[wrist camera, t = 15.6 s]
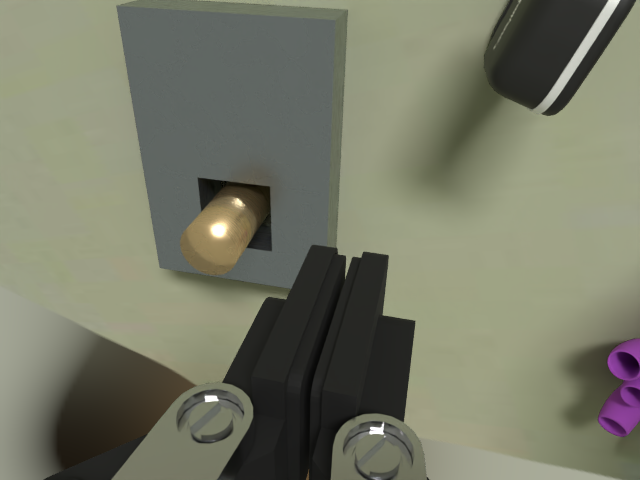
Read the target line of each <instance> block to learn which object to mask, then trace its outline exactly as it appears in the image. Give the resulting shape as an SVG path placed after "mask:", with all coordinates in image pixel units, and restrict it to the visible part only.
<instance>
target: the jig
mask: <svg viewBox="0 0 640 480" xmlns="http://www.w3.org/2000/svg"><path fill="white" fill-rule="evenodd" d="M117 12H118V18H119V24H120V30H121V36H122V43H123V49H124V55H125V61H126V67H127V73H128V79H129V85H130V91H131V97H132V103H133V109H134V115H135V121H136V127H137V133H138V139H139V145H140V151H141V157H142V163H143V169H144V175H145V181H146V187H147V193H148V199H149V205H150V212H151V218H152V224H153V230H154V236H155V242H156V248H157V254H158V260H159V266H160V268H163V269H170V270H176V271H182V272H189V273H195V274H201V275H207V276H214V277H220V278H226V279H233V280H239V281H245V282H252V283H258V284H264V285H270V286H277V287H283V288H289V289H291V288H292V286H293V284H294V282H295V280H296V277H297V275H298V273H299V271H300V269H301V267H302V264H303V262H304V260H305V258H306V256H307V253H308V251H309V249H310V247H311V245H320V246H327V247H334V248H336V242H337V221H338V201H339V180H340V159H341V139H342V118H343V97H344V77H345V56H346V36H347V15H348V10H341V9H325V8H309V7H293V6H276V5H260V4H244V3H228V2H211V1H195V0H137V1H133V2H129V3H125V4H121V5H117ZM220 180H222V181H230V182H238V183H246V184H254V185H262V186H270V198H271V224H268V223H262V224H261V226H260V227H259V229H258V230H257V232H256V233H255V235H254V236H253V238H252V239H251V241H250V242H249V244H248V245H247V247H246V249H245V250H244V252H243V253H242V255H241V256H240V258H239V259H238V261H237V262H236V264H235V265H234V267H233V268H232V269H231V270H230V271H229V272H227V273H225V274H222V275H209V274H205V273H203V272H200V271H198V270H197V269H195V268H194V267H193V266H191V265H190V264H189V263H188V261H187V260H186V259H185V257H184V256H183V254H182V251H181V247H180V239H181V236H182V234H183V232H184V231H185V230H186V229H187V227H188V226H189V225H190V224H191V223H192V222H193V221H194V220H195V218H196V217H197V216H198V215H199V214H200V213H201V212H202V210H203V209H204V208H205V207H206V206H207V205H208V204H209V202H210V201H211V200H212V199H213V198H214V197H215V196H216V195H217V193H218V192H219V191H220V190H221V181H220Z"/></svg>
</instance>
